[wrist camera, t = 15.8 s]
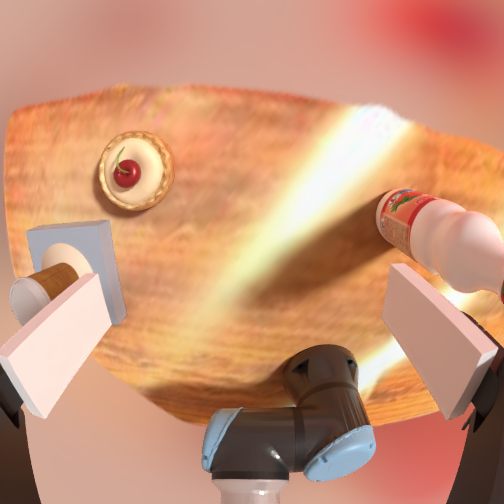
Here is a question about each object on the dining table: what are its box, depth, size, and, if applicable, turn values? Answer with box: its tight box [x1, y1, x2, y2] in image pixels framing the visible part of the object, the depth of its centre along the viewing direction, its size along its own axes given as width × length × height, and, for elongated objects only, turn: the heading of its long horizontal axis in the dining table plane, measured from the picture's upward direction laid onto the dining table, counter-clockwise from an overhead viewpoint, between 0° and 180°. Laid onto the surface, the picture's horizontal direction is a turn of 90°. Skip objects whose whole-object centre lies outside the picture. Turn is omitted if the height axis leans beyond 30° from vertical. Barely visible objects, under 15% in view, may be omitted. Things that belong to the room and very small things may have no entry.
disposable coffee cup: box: [9, 263, 79, 326], centre depth 36 cm, size 10×10×12 cm
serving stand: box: [26, 220, 127, 325], centre depth 44 cm, size 18×18×4 cm
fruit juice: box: [376, 188, 504, 304], centre depth 29 cm, size 9×9×28 cm
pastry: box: [98, 131, 175, 211], centre depth 36 cm, size 12×12×9 cm
